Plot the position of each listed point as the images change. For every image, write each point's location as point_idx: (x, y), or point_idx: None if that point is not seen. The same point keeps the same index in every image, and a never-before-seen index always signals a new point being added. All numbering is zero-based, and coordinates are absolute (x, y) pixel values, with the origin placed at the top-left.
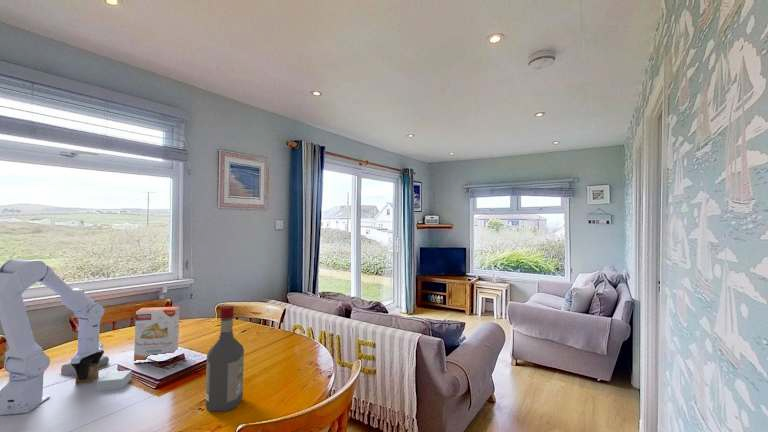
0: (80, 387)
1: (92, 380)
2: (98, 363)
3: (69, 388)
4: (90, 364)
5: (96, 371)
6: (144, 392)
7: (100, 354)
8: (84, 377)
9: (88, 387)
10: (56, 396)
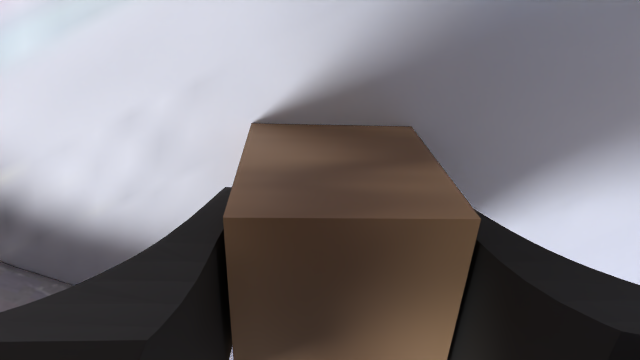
0: (507, 169)
1: (380, 129)
2: (239, 215)
3: None
4: (276, 311)
5: (300, 160)
6: None
7: (155, 341)
8: None
9: (546, 86)
10: (632, 265)
